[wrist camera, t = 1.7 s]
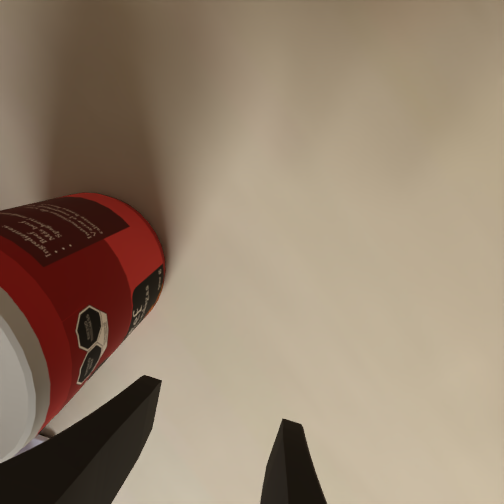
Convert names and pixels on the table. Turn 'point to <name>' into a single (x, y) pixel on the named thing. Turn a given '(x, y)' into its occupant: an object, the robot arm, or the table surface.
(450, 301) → the table surface
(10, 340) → the canned food
